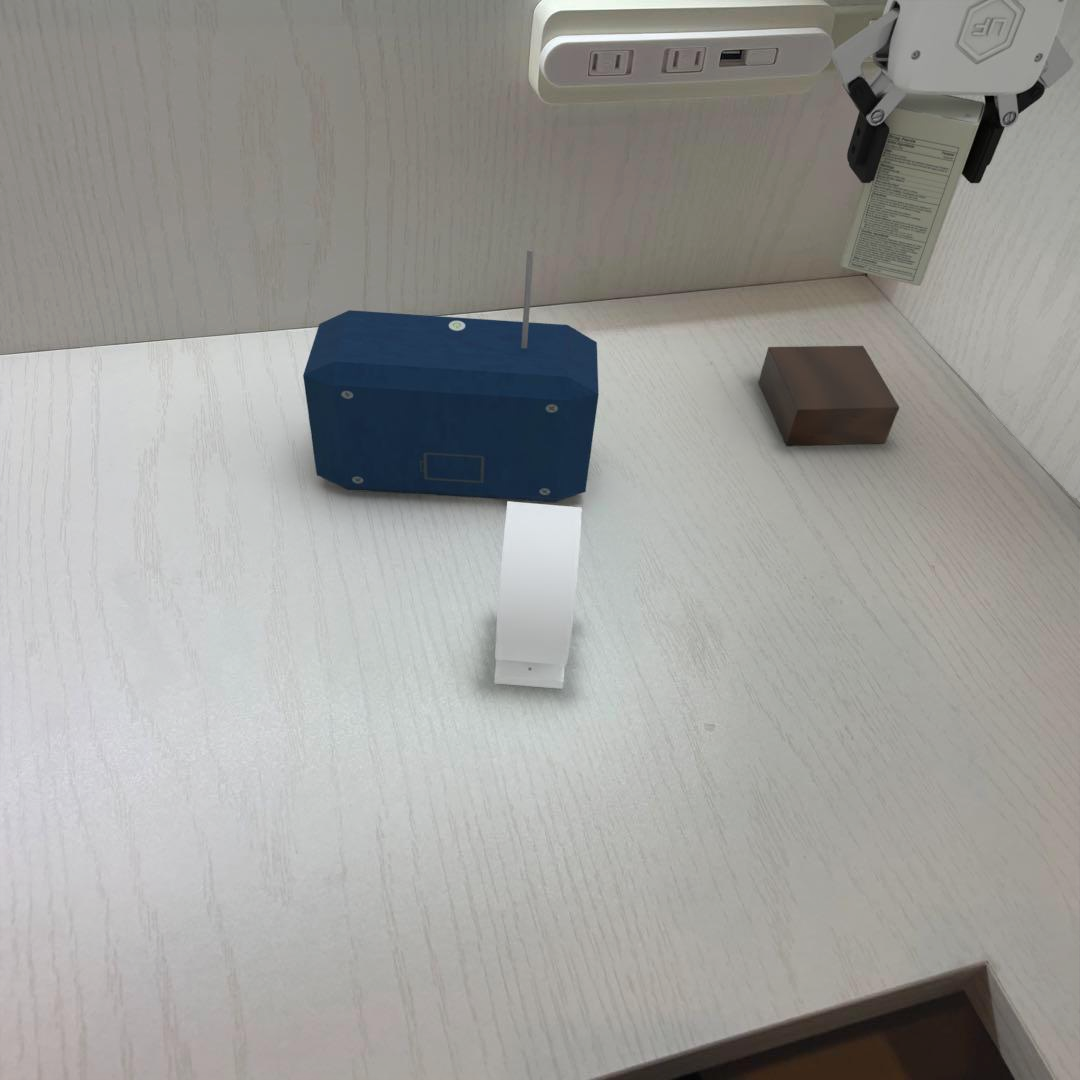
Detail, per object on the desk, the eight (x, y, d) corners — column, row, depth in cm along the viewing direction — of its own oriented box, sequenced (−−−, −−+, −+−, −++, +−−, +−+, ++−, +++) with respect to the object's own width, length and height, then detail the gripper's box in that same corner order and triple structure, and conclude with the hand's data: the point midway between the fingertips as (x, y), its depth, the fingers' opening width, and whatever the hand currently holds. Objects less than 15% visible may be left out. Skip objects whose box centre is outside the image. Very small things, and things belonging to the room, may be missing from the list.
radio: (582, 440, 82) (610, 221, 68) (583, 512, 76) (614, 288, 62) (335, 424, 82) (310, 200, 67) (316, 496, 75) (284, 266, 61)
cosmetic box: (928, 263, 75) (991, 101, 66) (919, 289, 72) (984, 124, 63) (846, 241, 76) (897, 81, 68) (834, 266, 73) (886, 102, 65)
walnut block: (850, 381, 91) (863, 345, 88) (884, 443, 85) (900, 407, 82) (758, 382, 90) (768, 346, 87) (785, 446, 83) (797, 409, 81)
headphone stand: (565, 630, 68) (582, 507, 59) (562, 702, 64) (579, 581, 55) (499, 624, 68) (507, 500, 59) (492, 696, 64) (498, 574, 55)
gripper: (898, -109, 53) (812, 200, 65) (1189, -97, 55) (1051, 200, 67) (851, -142, 58) (780, 150, 70) (1118, -129, 60) (1002, 152, 73)
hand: (913, 172), depth 69 cm, fingers closed on cosmetic box, 7 cm apart
